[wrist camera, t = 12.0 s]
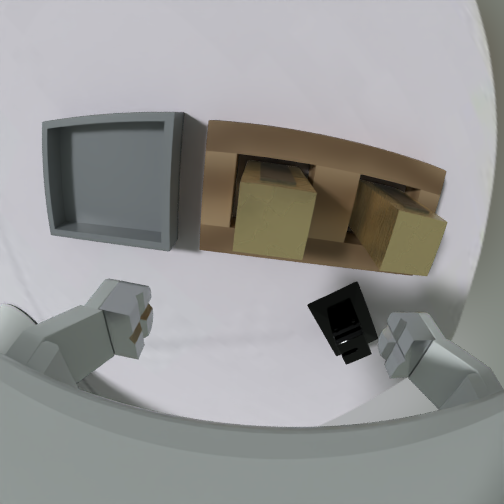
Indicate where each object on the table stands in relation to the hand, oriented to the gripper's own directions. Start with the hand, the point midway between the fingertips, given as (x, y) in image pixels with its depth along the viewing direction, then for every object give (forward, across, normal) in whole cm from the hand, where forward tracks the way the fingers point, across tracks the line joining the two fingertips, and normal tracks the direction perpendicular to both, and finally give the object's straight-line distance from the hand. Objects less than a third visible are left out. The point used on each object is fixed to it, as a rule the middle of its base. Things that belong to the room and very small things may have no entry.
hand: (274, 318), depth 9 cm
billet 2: (+15, +9, +1) cm, 18 cm away
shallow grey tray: (+15, -14, +1) cm, 20 cm away
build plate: (+16, +11, -12) cm, 23 cm away
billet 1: (+15, 0, +1) cm, 15 cm away
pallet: (+15, +5, +1) cm, 16 cm away
